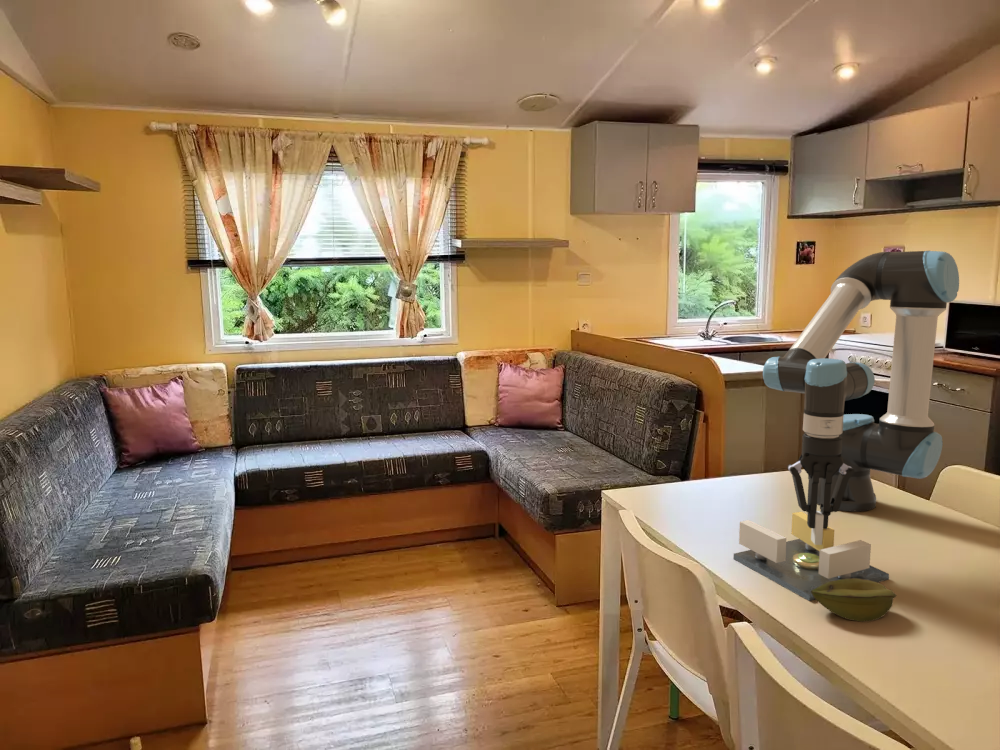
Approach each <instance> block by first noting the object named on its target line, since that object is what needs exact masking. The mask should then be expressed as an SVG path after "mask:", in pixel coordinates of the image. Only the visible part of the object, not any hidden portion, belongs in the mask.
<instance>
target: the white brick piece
mask: <svg viewBox="0 0 1000 750" xmlns="http://www.w3.org/2000/svg"><path fill="white" fill-rule="evenodd" d="M871 551H872V544H871V543H869V542H866V541H864V540H862V539H859V540H856V541H851V542H847V543H843V544H838V545H834V547H829V548H825V549H821V550H820V553H819V572H818V574H820V575H822V576H824V577H826V578H828V579H829V578H833V577H837V576H838V577H839V578H841V579H847V578H851V573H852V572H856V571H860V570H864V569H868V568H870V565H871V553H872V552H871Z"/></svg>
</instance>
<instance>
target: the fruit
mask: <svg viewBox="0 0 1000 750" xmlns="http://www.w3.org/2000/svg"><path fill="white" fill-rule="evenodd" d="M811 593H812V595H813V596H814V598H815V600H816V601H817V602H818V603H819V604H821V605H822V606H823V607H824V608H826V609H827V611H829V612H830V613H833V614H835V615H836V616H838V617H841V618H843V619H846V620H849V621H850V620H851V621H855V622H862V623H863V622H871V621H873V622H874V621H876V620H879V619H881V618H882V617H883V616H884V615H886V614H887V613H888V612H889V611H890V610H891V608H892V607H893V602H894V599H895V598H896V597H897V594H896V593H895V592H894V591H893V590H891V589H887V587H886V586H885V585H884V584H882V583H881V582H878V583H877V582H874V581H870V580H865V579H857V578H847V579H840V580H834V581H830V582H827V583H825V584H823V585H821V586H819V587H817V588H816V589H813V590H812V591H811ZM821 605H820V606H821Z"/></svg>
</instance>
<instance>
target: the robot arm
mask: <svg viewBox="0 0 1000 750" xmlns="http://www.w3.org/2000/svg"><path fill="white" fill-rule="evenodd" d="M959 273H960V272H959V268H958V264H957V263H956V260H955V258H954V257H953V256H952V255H951V254H950V253H949V252H947V251H942V250H941V251H939V250H938V251H936V250H917V251H913V250H912V251H911V250H910V251H882V252H876V253H872V254H869V255H867V256H864V257H862V258H861V259H858V260H857V261H856V262H854V263H853V264H851V265H850V266H848V267H847V268H846V269H845V270H844V271H842V272H841V273H840V275H838V276H837V278H836V279H835V280H834V282H832V284H831V287H830V294H829V296H828V297H827V299H826V300H825V301H824V302H823V303H822V305H821V306H820V307H819V309H818V310H817V311H816V313H815V314H814V315H813V317H812V318H811V320H810V321H809V323H808V324H807V325H806V326H805V328H804V329H803V330H802V332H801V333H800V334H799V336H798V337H797V339H795V341H794V343H793V344H792V345H791V347H790V348H789V349H788V351H787V352H786V353H785V354H784V356H783V357H782V356H780V355H779V356H772V357H770V358H768V359H767V360H766V361H765V363H764V365H763V369H762V378H763V382H764V384H765V386H766V387H768V388H769V389H771V390H772V389H773V390H775V391H776V390H777V391H782V392H790V393H799V394H804V403H803V404H804V405H803V406H804V407H803V419H802V421H803V422H802V423H803V424H802V431H803V434H802V436H801V437H802V438H801V439H802V442H801V453H800V456H799V458H798V461H796V462H795V463H793V464H792V463H790V464H788V465H787V469H788V471H789V472H790V474H791V475H792V476H791V477H792V480H793V485H794V490H795V495H796V500H797V504H798V507H799V508H800V510H802V512H806V513H807V515H808V516H807V524H808V526H809V528H812V529H811V540H812V542H813V543H814V544H815V545H822V538H823V528H824V529H827V527H829V516H831V515H832V513H838V512H839V511H844V512H865V511H866V512H867V511H870V510H873V509H875V507H876V506H877V495H876V493H875V490H874V487H873V482H872V478H871V470H873V471H879V472H882V473H888V474H893V475H897V476H902V477H903V478H913V479H918V480H919V479H925V478H927V477H928V476H930V475H931V474H932V473H933V471H934V470H935V469H936V467H937V464H938V463H939V460H940V457H941V455H942V450H943V446H944V445H943V436H942V435H941V434H940V433H938V432H937V431H935V423H934V422H933V420H932V419H931V418H930V417H929V410H930V409H929V407H930V399H931V388H932V378H933V369H934V360H935V349H936V348H935V347H936V339H937V338H936V337H937V330H938V329H937V328H938V320H939V319H938V318H939V316H940V315H941V314H943V313H944V312H945V311H946V310H947V306H948V305H947V304H948V303H951V302H953V301H955V299H956V298H957V297H958V292H959V291H960V290H959V289H960V275H959ZM878 300H879V301H880V300H882V301H890V302H889V303H890V304H889V308H890V310H891V311H892V312H893V313H894V314H895V315H896V316H895V325H894V337H893V345H892V346H893V348H892V358H891V368H890V370H891V371H890V380H889V381H890V382H889V390H888V401H887V410H886V411H887V412H886V413H885V414H883V415H882V416H881V417H879V421H878V422H879V423H875V419H874V416H872V415H869V414H863V413H861V414H860V413H852V414H851V413H850V414H849V413H848V414H847V413H846V414H845V413H844V412H845V402H846V401H851V400H853V399H859V398H862V397H863V396H865V395H867V394H869V393H870V392H871V391H872V389H873V388H874V386H875V382H876V380H875V375H874V372H873V370H872V368H870V367H869V366H868V365H867V364H864V363H862V362H859V361H858V362H857V361H856V362H852V361H850V362H847V363H846V362H845V361H844V360H842V359H838V358H826V357H827V356H828V355H829V353H830V351H831V350H833V348H834V346H835V345H836V344H837V342H838V340H839V339H840V338H841V336H842V335H843V334H844V332H845V330H847V328H848V326H849V325H850V324H851V322H852V321H853V319H854V318H855V316H856V315H857V314H858V312H859V311H860V310H862V309H865V308H867V306H869V305H870V303H871V302H873V301H878ZM802 468H803V470H804V472H805V473H807V479H808V483H807V484H808V487H807V498H806V494H805V493H806V492H805V489H804V485H803V480H802V479H803V478H802V477H801V473H802ZM818 505H819V510H818V509H817V508H818Z"/></svg>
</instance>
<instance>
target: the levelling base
mask: <svg viewBox="0 0 1000 750" xmlns="http://www.w3.org/2000/svg"><path fill="white" fill-rule="evenodd" d="M805 545H806V543H805V542H804V541H802V540H800V539H799V538H796V539H793V540H788V541H787V540H786V559H785V561H783V562H778V563H775V562H774V561H772V560H770V559H768V558H767V559H765V560H761V559H757V558H756V557H755V553H756V552H754V551H752V550H750V549H748V550H744V551H740V552H735V553H733V560H735V561H736V562H738V563H740V564H741V565H743V566H745V567H747V568H749V569H751V570H753V571H755V572H756V573H758V574H759V575H762V576H763V577H765V578H767V579H768V580H771V581H772V582H774V583H776V584H778V585H779V586H782V587H783V588H785V589H787V590H789V591H791V592H792V593H794V594H796V595H798V596H800V597H802V598H803V599H805V600H807V601H808V602H811V601H814V600H816V599H815V598H814V596H813V595H812V593H811V591H812V590H813V589H816V588H817V587H819V586H821V585H823V584H825V583H827V582H830V581H834V580H840V579H841V578H839V577H838V576H837V577H833V578H829V579H828V578H826V577H824V576H822V575H820V574H818V572H819V553H820V551H818V550H808V549H806V548H805ZM851 578H857V579H865V580H870V581H874V582H877V583H881V582H884V581H888V580H889V579H890V574H889V573H888V572H886V571H884V570H881V569H879V568H877V567H875V566H872V565H871V564H870V568H868V569H864V570H860V571H856V572H852V573H851Z"/></svg>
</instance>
